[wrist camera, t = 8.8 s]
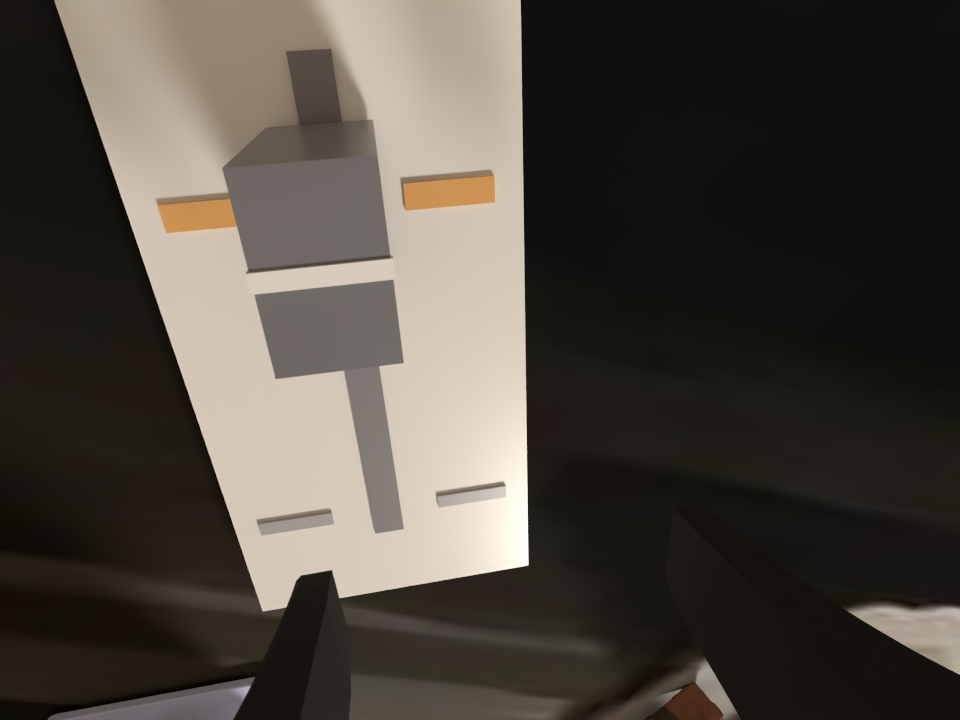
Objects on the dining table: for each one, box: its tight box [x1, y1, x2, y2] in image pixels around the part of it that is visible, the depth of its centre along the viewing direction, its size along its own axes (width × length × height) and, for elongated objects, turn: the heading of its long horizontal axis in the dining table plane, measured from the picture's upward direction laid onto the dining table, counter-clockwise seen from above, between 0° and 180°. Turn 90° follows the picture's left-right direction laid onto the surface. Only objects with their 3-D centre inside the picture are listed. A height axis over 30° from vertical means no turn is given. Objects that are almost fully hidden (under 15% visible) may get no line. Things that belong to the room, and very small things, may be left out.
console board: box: [54, 0, 528, 611], centre depth 18 cm, size 10×22×2 cm, turn 2°
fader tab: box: [222, 119, 404, 379], centre depth 13 cm, size 3×4×5 cm, turn 2°
